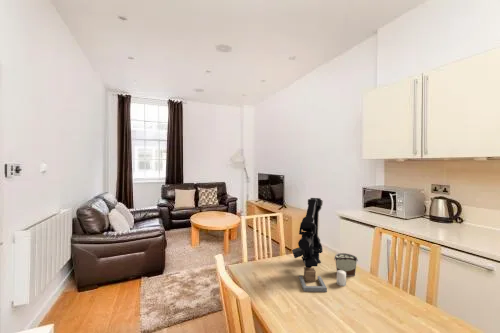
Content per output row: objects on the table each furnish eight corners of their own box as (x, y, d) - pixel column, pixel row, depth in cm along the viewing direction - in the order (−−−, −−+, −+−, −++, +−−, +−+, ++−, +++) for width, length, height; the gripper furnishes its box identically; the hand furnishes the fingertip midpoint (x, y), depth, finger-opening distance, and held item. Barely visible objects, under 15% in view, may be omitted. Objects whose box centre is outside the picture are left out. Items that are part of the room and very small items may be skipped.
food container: (353, 270, 130) (353, 253, 130) (357, 275, 124) (357, 257, 124) (331, 269, 131) (331, 252, 131) (334, 274, 125) (334, 256, 125)
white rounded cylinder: (335, 281, 118) (335, 270, 118) (344, 281, 118) (344, 270, 118) (338, 286, 114) (338, 274, 113) (347, 286, 113) (347, 274, 113)
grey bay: (299, 279, 120) (299, 275, 120) (320, 279, 120) (320, 276, 120) (303, 291, 109) (303, 287, 109) (326, 291, 109) (326, 288, 109)
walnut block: (304, 276, 123) (304, 267, 123) (313, 276, 123) (313, 267, 123) (305, 281, 118) (305, 271, 118) (315, 281, 118) (315, 271, 118)
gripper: (290, 238, 134) (290, 264, 135) (295, 249, 116) (295, 280, 116) (309, 238, 134) (309, 264, 134) (317, 250, 115) (317, 280, 116)
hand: (307, 271), depth 125 cm, fingers closed
